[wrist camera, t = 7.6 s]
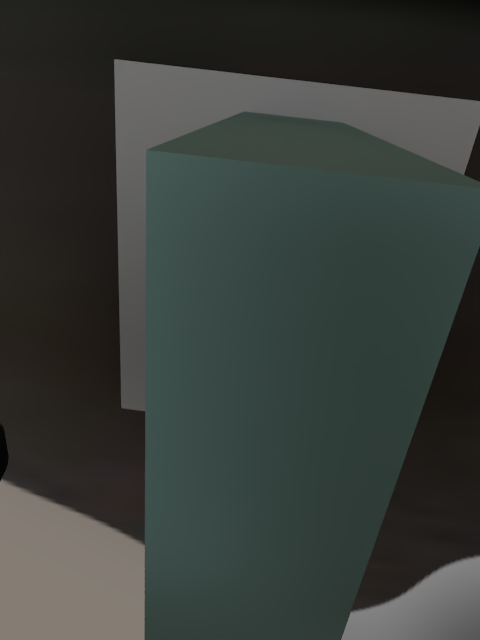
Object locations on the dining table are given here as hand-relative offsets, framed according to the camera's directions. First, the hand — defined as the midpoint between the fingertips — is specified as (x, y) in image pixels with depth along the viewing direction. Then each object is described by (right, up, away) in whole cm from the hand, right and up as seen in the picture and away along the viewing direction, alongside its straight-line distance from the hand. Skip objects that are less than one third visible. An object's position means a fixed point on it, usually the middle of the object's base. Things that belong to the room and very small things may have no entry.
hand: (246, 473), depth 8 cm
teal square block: (+1, +4, +8) cm, 9 cm away
